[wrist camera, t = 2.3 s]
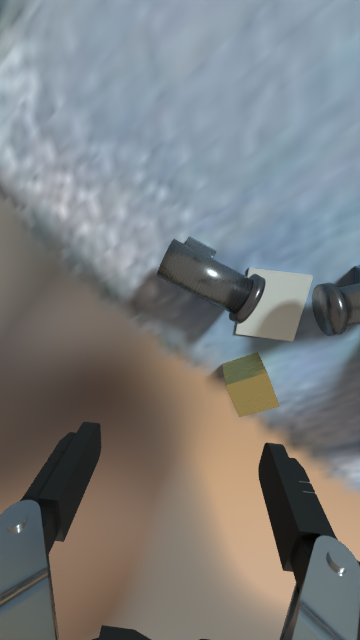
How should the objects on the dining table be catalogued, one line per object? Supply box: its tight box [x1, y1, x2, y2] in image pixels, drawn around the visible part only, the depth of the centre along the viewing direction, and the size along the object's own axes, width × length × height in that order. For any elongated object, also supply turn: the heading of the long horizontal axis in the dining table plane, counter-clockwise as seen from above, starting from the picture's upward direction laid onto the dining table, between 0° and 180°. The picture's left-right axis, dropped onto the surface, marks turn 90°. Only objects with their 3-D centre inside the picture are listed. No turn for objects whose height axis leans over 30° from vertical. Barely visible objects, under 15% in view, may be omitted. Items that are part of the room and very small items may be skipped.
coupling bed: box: [235, 268, 313, 341], centre depth 26 cm, size 7×8×1 cm
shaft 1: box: [157, 237, 266, 324], centre depth 23 cm, size 9×5×6 cm, turn 64°
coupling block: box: [222, 352, 279, 417], centre depth 28 cm, size 4×4×4 cm
